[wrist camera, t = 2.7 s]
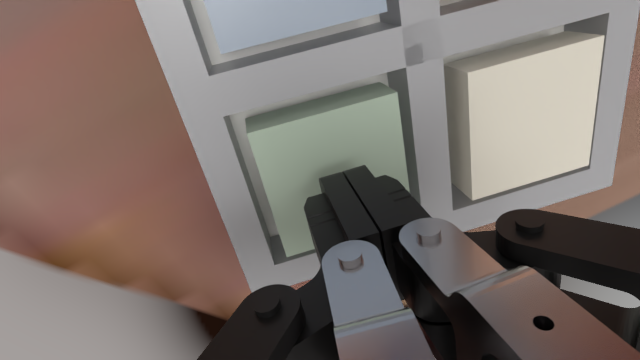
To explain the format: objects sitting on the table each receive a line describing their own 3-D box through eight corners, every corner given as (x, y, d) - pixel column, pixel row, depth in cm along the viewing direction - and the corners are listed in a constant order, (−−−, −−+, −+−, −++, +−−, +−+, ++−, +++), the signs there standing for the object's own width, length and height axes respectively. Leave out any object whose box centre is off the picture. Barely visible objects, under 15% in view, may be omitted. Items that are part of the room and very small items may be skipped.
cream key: (566, 30, 15) (604, 35, 13) (557, 149, 17) (588, 165, 15) (443, 64, 14) (467, 72, 13) (450, 181, 17) (472, 200, 15)
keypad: (573, -276, 13) (700, -376, 9) (546, 152, 20) (611, 185, 17) (93, -179, 12) (33, -254, 8) (249, 240, 19) (253, 296, 16)
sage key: (379, 81, 14) (397, 92, 13) (396, 198, 16) (413, 218, 15) (244, 118, 14) (246, 133, 12) (281, 232, 16) (286, 257, 14)
